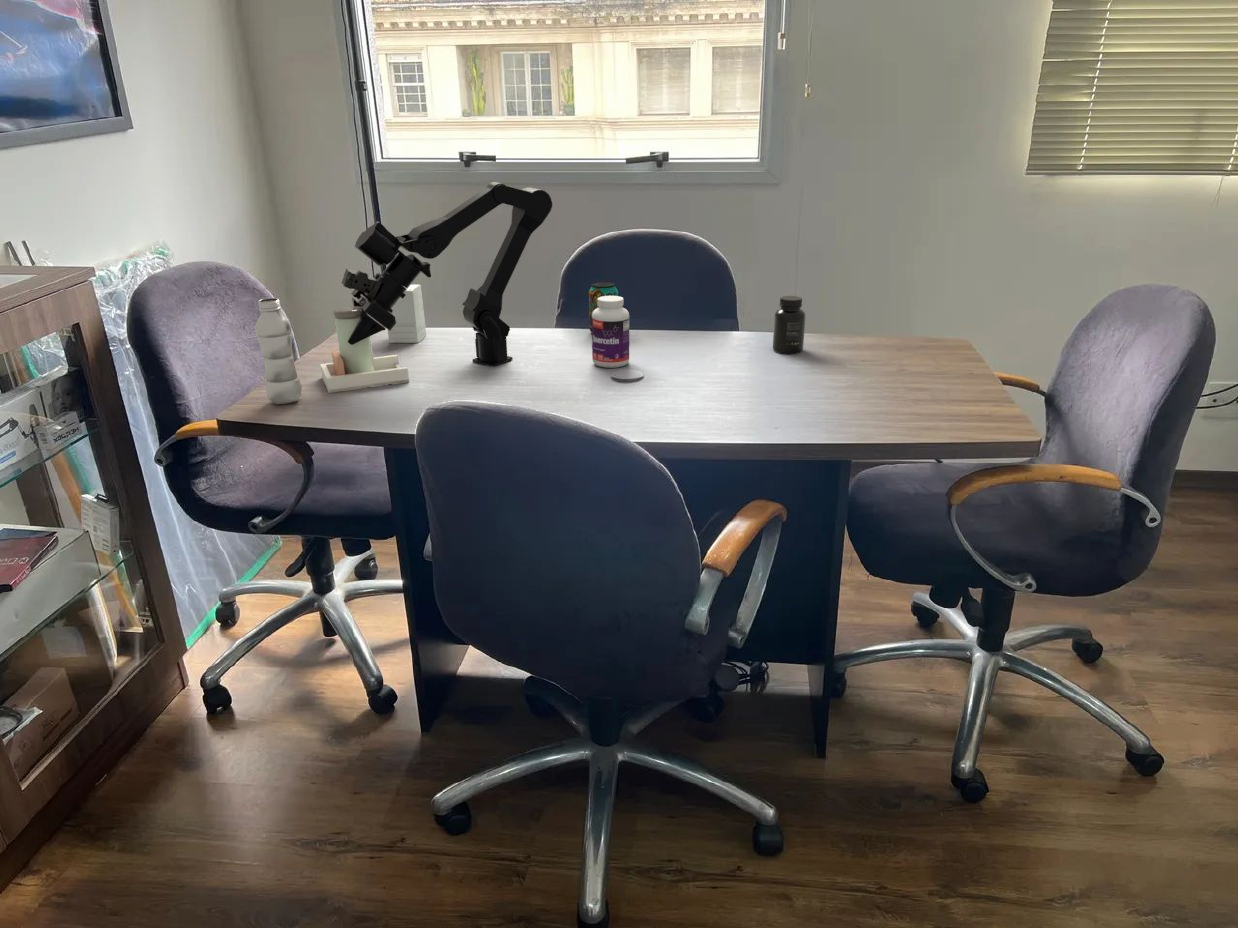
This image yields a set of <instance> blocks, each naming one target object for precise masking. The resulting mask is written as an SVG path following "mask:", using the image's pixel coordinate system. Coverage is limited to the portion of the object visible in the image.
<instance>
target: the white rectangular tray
mask: <svg viewBox="0 0 1238 928" xmlns="http://www.w3.org/2000/svg"><path fill="white" fill-rule="evenodd" d="M373 360H374V367H375V371H371V372H363V373H356V374H348V375H340V376H335V372H334V365H333V362H326V363H320V364H319V365H320V372H321V378H322V380H323V383H324V385H325V387H326V390H327V392H328V394H331V393H337V392H346V391H353V390H361V388H363V389H368V388H367V387H370V388H373V387H372V386H377V387H380V386H379V385H385V386H388V385H387V384H392V385H399V384H407V383H410V379H409V378H410V377H409V369H408V367H407V366H402V365H401V364H400V361H399V360H400V359H399V354H392V355H385V356H375V357H374V356H373Z"/></svg>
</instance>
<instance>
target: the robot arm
mask: <svg viewBox="0 0 1238 928" xmlns="http://www.w3.org/2000/svg"><path fill="white" fill-rule="evenodd" d="M502 204H503V205H507V206H508V205H509V206H512V209H511V224H510V227H509V228H508V231H507V233H506V235H505V237H504V239H503V241H502V244H501V246H500V248H499V250H498V252H497V253H496V256H495V258H494V260H493V263H492V264H491V267H490V269H489V271H488V273H487V275H486V277H485V279H484V282H483V284H482V285H481V286H480V287H478V289H477V290H476V289H475V288H472V287H471V288H470V289H469V290H468V294H467V297H466V299H465V301H464V302H462V304H461V305H462V306H463V309H462V316H463V318H464V320H465V322H466V323H468V324H469V325H471V327H472V330H473V332H475V338H474V339H475V340H474V341H475V353H476V355H475V356H476V357H474V358H472V362H473V363H477V364H481V365H482V364H483V365H487V366H491V367H495V366H498V365H500V364H503V363H507V362H509V361H511V360H513V358H514V357H513V356H508V344H507V343H508V342H507V337H508V336H509V332H510V331H511V330H510V329H511V327H510V326H509V325H508V324H507V323H506V322H504V321H503V320H502V319H501V318H500V316H501V313H502V310H503V297H504V293H505V290H506V288H507V286H508V284H509V282H510V279H511V278H512V275H513V273H514V271H515V269H516V267H517V265H518V263H519V261H520V258H521V256H522V255H523V252H524V250H525V248H526V246H527V243H528V242H529V240H530V238H531V235H532V234H533V233H534V232H535V231H536V230H537V229H539V227H540V226H541V225H543V223H544V221H545V220H546V219H547V218H548V216H549V214H550V213H551V211H552V209H553V201H552V197H551V196H550V194H549V193H548V192H547V191H546V190H543V189H539V188H534V187H528V186H527V187H524V188H521V189H518V188H515V187H511V186H508V185H506V184H505V183H501V182H498V181H495V182H493V181H491V182H490V183H489V184H487V186H486V187H484V188H483V189H481V190H480V191H478V192H477V193H476V194H474V195H473V196H471V197H470V198H468V199H467V200H465V201H464V202H462V203H461V204H460V205H458V206H456V207H455V208H453V209H452V210H451V211H449V212H448V213H446V214H445V215H443V216H441V217H438V218H437V219H436V218H435V219H432V220H429V221H426V222H425V223H422V224H420V225H418V226H416V227H413V228H412V229H411V230H410V231H409V233H407V234H402V235H398V236H395V235H394V234H392V233H391V232H390V231H389V230H388V229H387V228H386V227H385V225H384V224H382V223H381V222H380V221H375V222H374V223H373V224H372V225H371V226H368V227H367V229H365V230H364V231H362V232H361V233H360V235H359V236H358V238H357V239H356V241H355V244H354V247H355V248H356V249H357V250H358V251H359V252H360V253H362V254H363V255H364V256H366V257H367V258H368V259H369V260H370V261H372V262H373V263H374V264H375V265H377V266H378V267H379V266H382V265H385V266H386V268H385V269H384V270H383V272H382V273H381V272H378V273H375V275H374V276H370V275H368V273H367V272H363V271H361V270H357V271H356V270H354V269H350V268H345V271H344V273H343V276H342V281H341V284H342V285H343V287H344V288H346V289H347V288H348V289H350V290H352V289H353V290H352V292H351V293H350V294H351V296H352V297H351V301H352V302H351V303H352V306H361V307H363V310H364V311H363V310H362V309H361V308H359V310H360V320H359V322H358V324H357V326H356V327H355V329H354V331H353V332H352V334H351V336H350V338H349V340H348V343H349V344H351V345H353V344H355V343H357V342H359V341H361V340H363V339H365V338H367V337H369V336H370V337H371V336H374V335H376V334H378V333H379V332H383V331H385V330H386V329H388V330H391V329H392V328H393V326H394V325H395V324H396V320H395V316H394V315H393V314H392V311H393V310H392V309H391V308H392V307H393V306H394V305H395V303H396V302H397V301H398V300H399V299H400V297H401V298H402V299H403V298H404V297H405V294H404V292H405V291H406V290H407V289H408V287H409V286H410V285H413V282H415V280H416V279H417V278H418V276H420V274H421V273H423V275H424V276H426V277H427V278H429V279H430V278H431V277H432V274H431V264H430V262H428V261H424V262H423V261H421V260H420V259H419V258H418V257H417V256H420V257H421V258H424V259H428V260H431V259H435V258H436V257H437V258H438V256H440V255H441V254H442V253H443V252H444V251H445V249H447V247H449V245H450V244H451V243H452V241H453V239H454V238H455V237H457V235H458V234H459V233H461V232H463V231H464V230H465V229H467V228H468V227H470V226H471V225H473V223H475V222H476V221H479V220H480V219H481V218H483V217H484V216H485V215H487V214H488V213H490V212H492V210H495V209H496V208H497V207H498V206H500V205H502ZM400 249H403V250H405V251H407V252H409V253H410V254H408V255H406V254H404V253H403V252H402V251H401V250H400ZM412 253H415V255H414V254H412ZM416 255H417V256H416ZM406 288H407V289H406ZM353 297H354V298H353ZM355 298H356V299H355ZM388 330H387V331H388Z"/></svg>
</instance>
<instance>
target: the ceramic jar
mask: <svg viewBox="0 0 1238 928" xmlns="http://www.w3.org/2000/svg"><path fill="white" fill-rule="evenodd" d="M359 308H361V309H362V310H363V307H361V306H353V305H352V306H343V307H339V308H336V309H334V310H333V311H332V314H333V318H334V323H335V330H336V336H337V342H338V343H337V344H338V352H339V354H340V356H341V358H342V359H343V363H344V371H345V375H348V374H356V373H363V372H371V371H375V367H374V360H373V358H374V355H373V347H372V339H371V336H369V337H367V338H365V339H363V340H361V341H359V342H357V343H355V344H353V345H351V344H349V343H348V340H349V338H350V336H351V334H352V332H353V331H354V329H355V327H356V326H357V324H358V322H359V320H360V310H359ZM363 311H364V310H363Z"/></svg>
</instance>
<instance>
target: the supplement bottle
mask: <svg viewBox="0 0 1238 928" xmlns="http://www.w3.org/2000/svg"><path fill="white" fill-rule="evenodd" d="M802 306H803V298H802V297H800V296H795V295H785V296H781V297H780V298H779V308H778V309H776V310H775V313H774V317H773V318H774V321H773V334H772V349H773V351H774V352H775V353H778V354H783V355H796V354H800V353H802V352H803V350H804V342H805V330H806V328H805V327H806V313H805V311H804V310H803V309H801V308H802Z"/></svg>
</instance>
